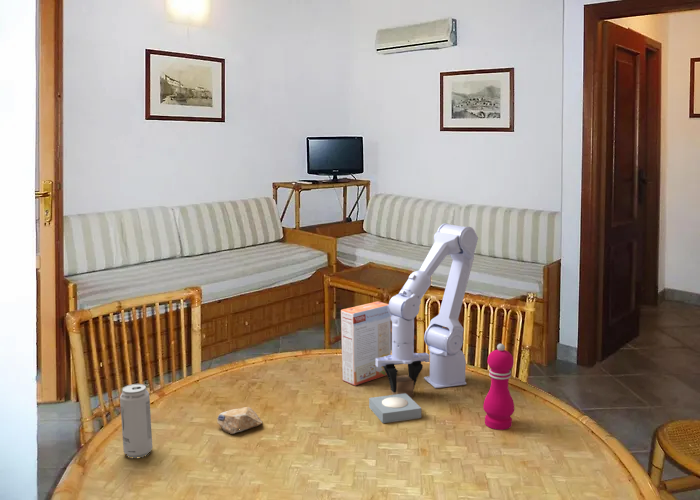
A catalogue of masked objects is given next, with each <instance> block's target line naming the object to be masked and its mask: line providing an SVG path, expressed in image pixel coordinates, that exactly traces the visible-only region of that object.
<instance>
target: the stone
mask: <svg viewBox="0 0 700 500" xmlns="http://www.w3.org/2000/svg"><path fill="white" fill-rule="evenodd" d="M216 419H217V421H216V422H217V424H218V425H219V427H221V429H222V430H223V431H224V432H225V433H227V432H228V433H227V434H229V433H230V434H231V435H233V434H236V433H239V432H243V431H248V430H249V429H252V428H254V427H256V428H257V427H259V426H260V425H262V424H263V421H262V419H261V418H260V417H259V415H258V414H257V412H256V411H254V409H253V408H251V407H250V406H246V407H239V408H234V409H229V410H227V411H222V412H221V413H219V414H218V417H217V418H216ZM239 429H240V430H239Z"/></svg>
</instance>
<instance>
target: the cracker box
mask: <svg viewBox="0 0 700 500" xmlns="http://www.w3.org/2000/svg"><path fill="white" fill-rule="evenodd" d="M388 305H389V303H385V302H382V301H373V302H370V303H365V304H361V305H356V306H353V307H347V308H343V309H341V310H340V326H341V327H340V329H341V330H340V333H341V338H340V339H341V372H342V373H341V374H342V375H341V376H342V377H341V378H342V379H341V380H342V381H343V382H345V383H348V384H350V385H353V386H354V387H355V386H359V385H361V384H364V383H367V382H371V381H373V380H376V379H377V380H378V379H379V378H383V377H385V376H387V374H386V372H385V369H384V367H383V366H382V367H379V368H378V367H377V366H376V365H375V358H381V357H385V356H388V355H392V321H391V316H390V314H389V312H388V310H387V306H388Z"/></svg>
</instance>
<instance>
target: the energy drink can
mask: <svg viewBox="0 0 700 500" xmlns="http://www.w3.org/2000/svg"><path fill="white" fill-rule="evenodd" d="M150 397H151V396H150V392H149V391H148V390H147V386H146V385H145V384H142V383H134V384H133V383H132V384H128V385H125V386H124V387H122V391H121V394H120V396H119V403H120V419H121V432H122V446H123V447H122V448H123V454H125V455H126V454H127V455H126V457H127V456H129V457H133V458H137V457H142V458H144V457H143V456H145V455H147V454H148V453H149V452H150V453H151V450H152V449H153V434H152V433H153V432H152V419H151V418H152V417H151V416H152V414H151V402H150V401H151V399H150ZM150 453H149V454H150ZM149 454H148V455H149ZM148 455H147V456H148ZM129 457H128V458H129ZM145 457H146V456H145ZM133 458H132V459H133ZM137 459H138V458H137Z"/></svg>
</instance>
